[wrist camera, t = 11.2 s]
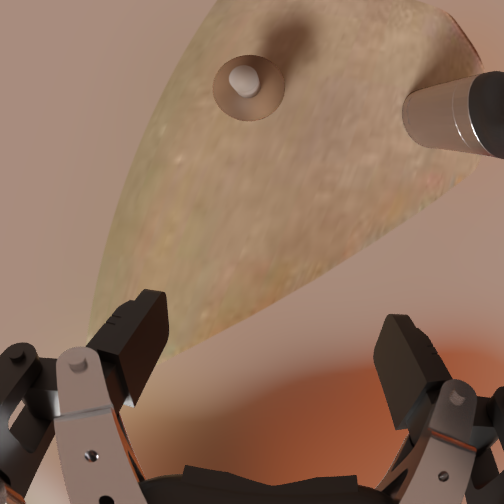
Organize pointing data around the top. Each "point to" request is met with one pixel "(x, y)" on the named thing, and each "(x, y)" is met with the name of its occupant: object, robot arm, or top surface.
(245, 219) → the top surface
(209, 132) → the top surface
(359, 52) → the top surface
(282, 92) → the lid
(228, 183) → the top surface
